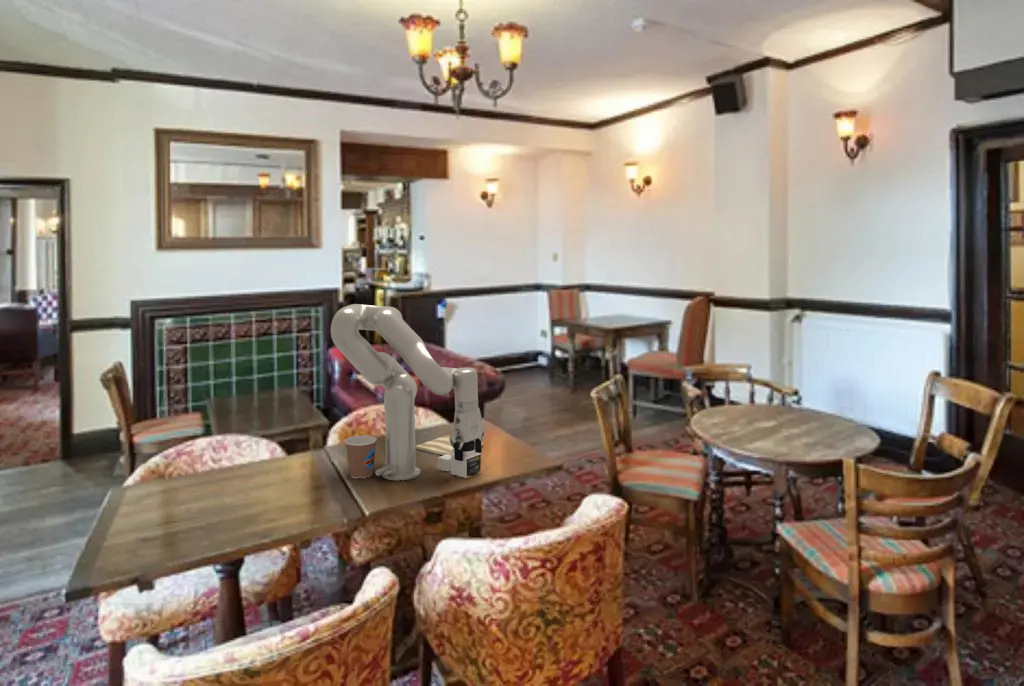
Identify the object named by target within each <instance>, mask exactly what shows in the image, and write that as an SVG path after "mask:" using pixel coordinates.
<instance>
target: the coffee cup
mask: <svg viewBox="0 0 1024 686" xmlns="http://www.w3.org/2000/svg"><path fill="white" fill-rule="evenodd" d="M377 441H378V438H377V437H375V436H374V435H373V436H372V435H355V436H349V437H347V438H346V439H344V443H345V448H346V449H345V450H346V454H347V455H346V456H347V462H348V468H349V469H348V470H349V474H350V477H351V478H353V479H357V478H363V479H367V478H366V477H368V478H370V477H371V475H372V476H373V472H374V467H375V456H376V448H377V447H376V444H377ZM369 476H370V477H369Z"/></svg>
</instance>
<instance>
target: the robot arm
mask: <svg viewBox="0 0 1024 686" xmlns="http://www.w3.org/2000/svg"><path fill="white" fill-rule="evenodd" d="M360 330H361V331H364V330H365V331H373V332H374V331H376V332H377V333H378V334H379V335H380V336H381V337H382V338H383V339H384V340H385V341H386V343H388V344H389V346H391V347H392V348H393V349H394V350H395V352H396V353H397V354H398V355H399V356H400V357H401V358H402V359H403V361H404V363H406V365H407V366H408V367H409V368H410V370H411V371H412V372H413V374H414V375H415V376H416V377H417V378H418V379H419V380H420V381H421V383H423V384H424V385H425V386H426V387H427V389H428V390H429V391H430V392H431V393H433V394H435V395H438V396H445V395H447V394H448V393H450V392H451V391H452V389H453V390H454V410H455V411H454V415H453V416H454V418H453V433H452V434H451V435H450V438H449V440H450V442H451V445H452V446H453V448H454V455H455V460H458V461H463V449H461V448H462V446H463V444H464V442H465V443H467V442H470V441H473V440H475V452H477V453H480V454H482V452H483V451H482V450H483V449H482V448H483V447H482V446H481V442H482V441H483V437H484V435H485V433H484V432H485V428H486V425H483V421H482V414H481V410H480V407H479V394H478V393H479V391H478V384H479V383H478V382H479V381H478V371H477V369H476V368H473V367H459V368H458V367H456V368H455V367H447V366H440V365H439V364H438V363H437V361H436V360H434V358H433V357H432V356H431V354H430V352H429V351H428V349H427V347H426V344H425V343H424V341H423V339H422V337H420V336H419V335H418V334H417V333H416V332H415V330H414V329H412V328H411V326H410V325H409V324H408V323H407V322H406V321H405V320H404V319H403V314H402V313H401V312H400V311H399V310H398V308H396V307H393V306H388V305H386V306H384V305H370V304H362V303H361V304H360V303H359V304H358V303H353V304H349V305H347V306H346V305H345V306H343V307H341V308H340V309H338V311H336V313H335V314H334V317H332V321H331V325H330V336H331V340H332V342H333V343H334V346H335V347H336V348H337V351H339V352H340V353H341V354H342V356H344V358H346V360H348V362H349V363H350V364H351V365H352V366H353V367H354V368H355V369H356V370H357V371H358V373H360V374H361V376H363V378H364V379H365V380H366V381H367V382H368V383H369V384H371V385H373V386H374V385H375V386H381V387H382V388H383V389H384V390H385V391H384V395H383V405H384V406H383V407H384V408H383V409H384V418H385V419H384V422H385V423H384V425H385V427H384V428H385V462H384V463H383V467H382V468H378V469H375V476H378V477H379V476H381V477H382V478H383V479H385V480H389V481H395V482H396V481H399V482H400V480H401V481H407V480H412V479H415V478H418V477H419V476H420V474H421V469H420V468H419V467H418V466H416V417H415V416H416V415H415V414H416V413H415V400H416V399H415V398H416V396H417V393H418V385H417V382H416V381H415V380H414V378H413V377H412V376H411V374H409V372H407V371H406V370H405V368H404V367H403V366H401V364H400V363H399V362H398V361H397V360H396V359H395V357H393V356H392V355H390V354H389V353H388V352H387V353H386V352H383V351H377V350H376V349H375V348H374V347H373V346H372V345H371V343H370V342H369V341H368V340H366V338H364V337H363V336H362V334H361V333H360V332H359V331H360ZM458 442H460V444H458Z"/></svg>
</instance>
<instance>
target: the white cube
mask: <svg viewBox="0 0 1024 686" xmlns="http://www.w3.org/2000/svg"><path fill="white" fill-rule="evenodd" d="M438 469H441V470H444V471H451V455H448V454H446V455H443V456H438V457H437V470H438Z"/></svg>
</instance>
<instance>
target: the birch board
mask: <svg viewBox="0 0 1024 686" xmlns="http://www.w3.org/2000/svg"><path fill="white" fill-rule="evenodd" d="M450 436H451V435H449V434H446V435H443V436H440V437H438V438H435V439H431V440H429V441H426V442H422V443H419V444H417V445H416V444H415V449H416V448H417V449H421V450H425V451H430V452H435V453H438V454H443V455H446V454H448V455H451V454H452V449H454V448H453V446H452V445H451V442H450V440H449V438H450ZM482 444H484V442H482V441H481V445H482ZM484 445H485V444H484Z"/></svg>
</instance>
